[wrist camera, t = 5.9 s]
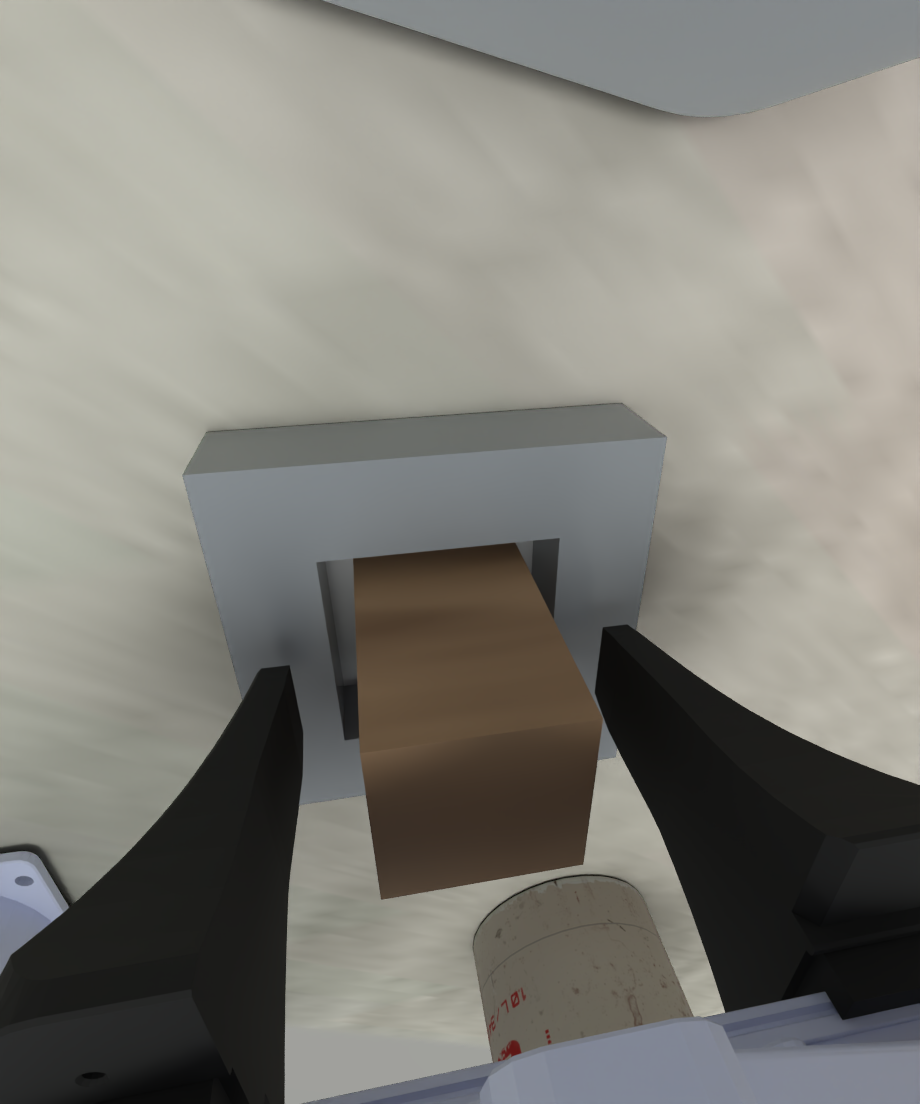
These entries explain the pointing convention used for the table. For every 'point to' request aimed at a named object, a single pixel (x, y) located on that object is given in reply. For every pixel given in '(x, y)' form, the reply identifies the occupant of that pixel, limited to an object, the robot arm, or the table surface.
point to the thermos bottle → (572, 965)
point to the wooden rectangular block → (468, 721)
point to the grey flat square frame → (415, 538)
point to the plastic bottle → (677, 44)
